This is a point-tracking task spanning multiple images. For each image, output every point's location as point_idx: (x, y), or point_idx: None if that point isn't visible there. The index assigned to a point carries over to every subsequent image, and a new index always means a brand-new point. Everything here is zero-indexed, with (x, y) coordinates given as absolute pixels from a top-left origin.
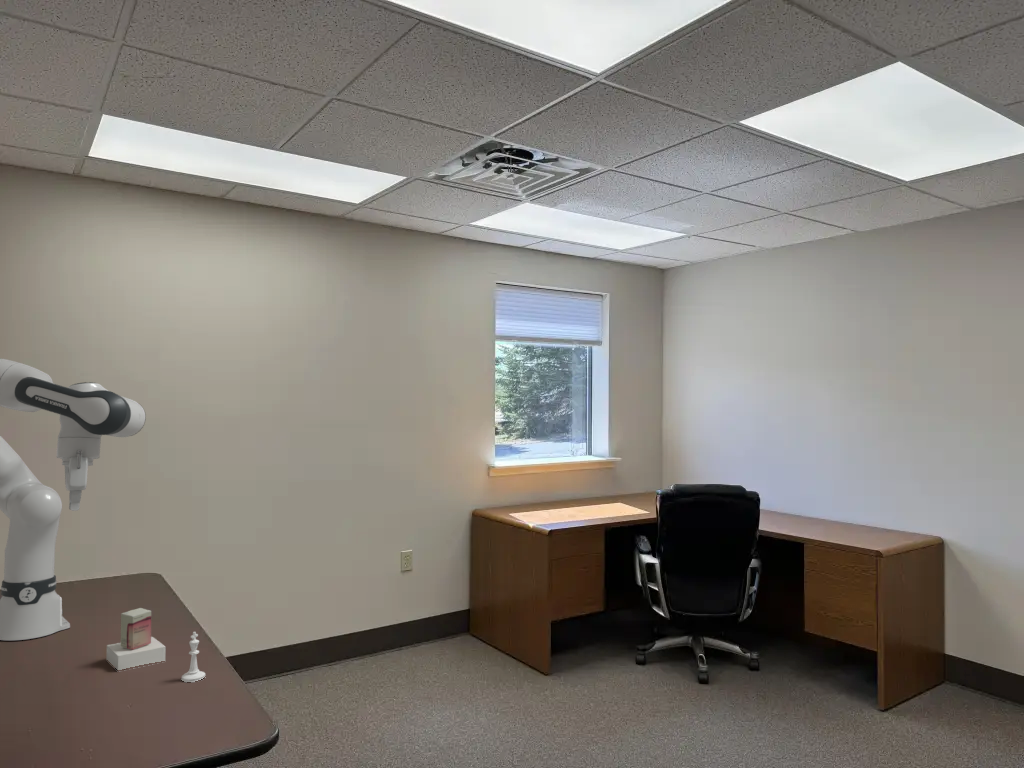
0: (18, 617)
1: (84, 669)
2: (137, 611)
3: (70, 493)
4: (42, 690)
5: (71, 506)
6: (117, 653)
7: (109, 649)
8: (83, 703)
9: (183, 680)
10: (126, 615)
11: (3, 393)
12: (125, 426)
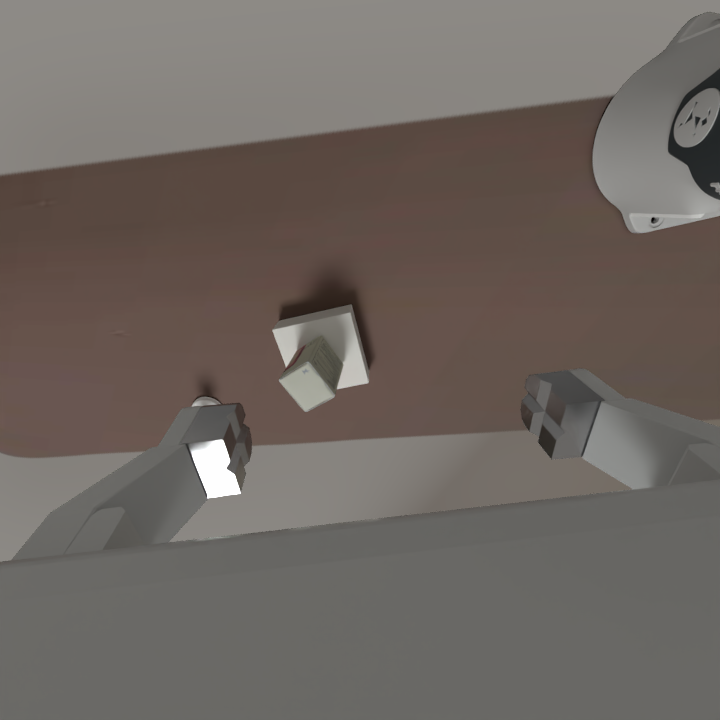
0: (653, 105)
1: (314, 270)
2: (307, 390)
3: (699, 467)
4: (222, 206)
5: (172, 428)
6: (288, 328)
7: (331, 315)
8: (141, 273)
9: (198, 399)
10: (292, 370)
11: None
12: None
